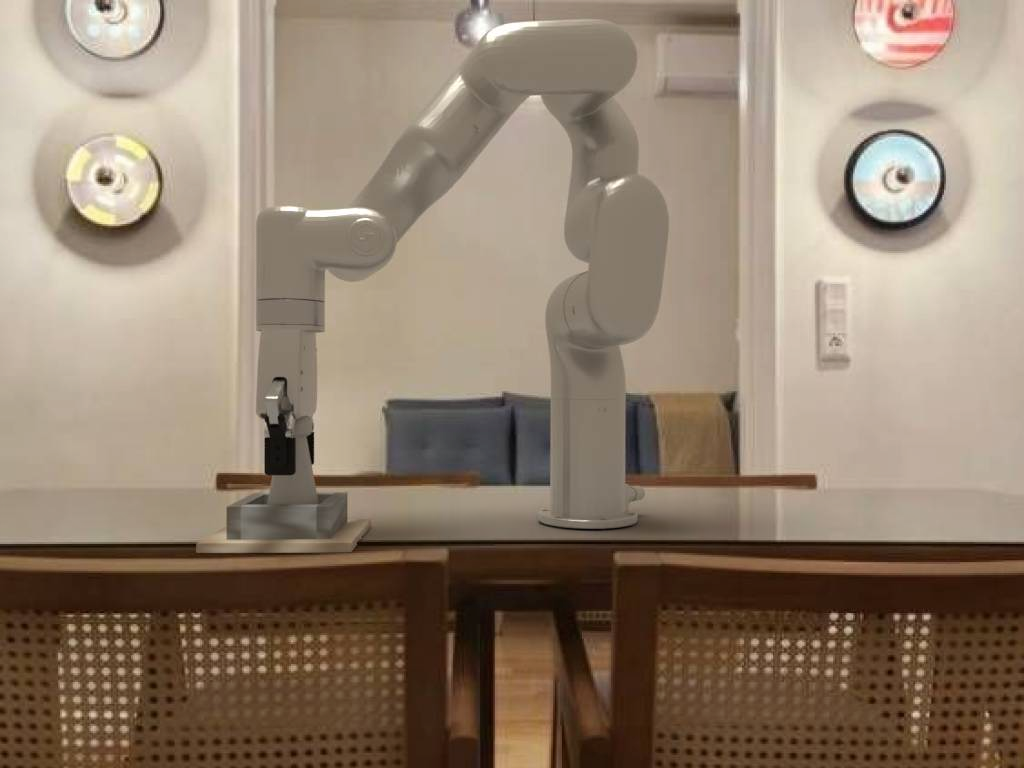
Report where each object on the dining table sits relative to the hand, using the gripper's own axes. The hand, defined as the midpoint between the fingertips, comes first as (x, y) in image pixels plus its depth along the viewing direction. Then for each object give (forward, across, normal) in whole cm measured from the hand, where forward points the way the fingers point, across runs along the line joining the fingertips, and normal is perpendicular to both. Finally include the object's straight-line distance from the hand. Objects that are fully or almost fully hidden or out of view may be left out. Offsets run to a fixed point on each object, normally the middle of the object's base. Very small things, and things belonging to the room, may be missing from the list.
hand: (290, 469), depth 95 cm
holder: (+8, 0, 0) cm, 8 cm away
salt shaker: (+7, 0, 0) cm, 7 cm away
